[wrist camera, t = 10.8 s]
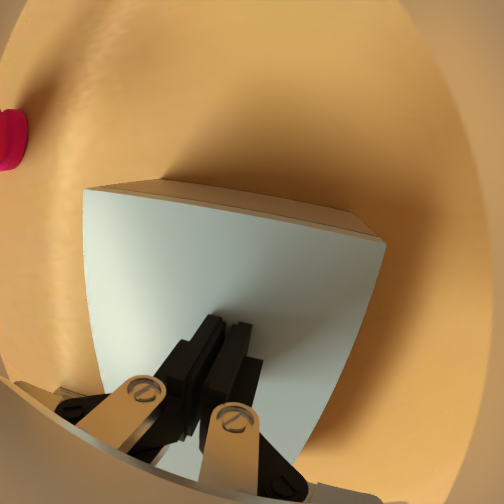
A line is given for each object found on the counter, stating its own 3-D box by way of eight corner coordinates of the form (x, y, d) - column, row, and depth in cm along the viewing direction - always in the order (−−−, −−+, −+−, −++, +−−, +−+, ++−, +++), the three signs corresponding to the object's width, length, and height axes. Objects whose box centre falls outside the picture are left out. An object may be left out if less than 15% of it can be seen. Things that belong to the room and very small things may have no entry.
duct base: (159, 178, 17) (99, 186, 11) (352, 212, 15) (378, 236, 10) (160, 422, 24) (136, 463, 19) (272, 453, 23) (263, 501, 17)
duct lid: (98, 186, 11) (83, 188, 10) (379, 237, 10) (386, 244, 9) (136, 464, 18) (131, 471, 18) (262, 502, 17) (260, 511, 16)
